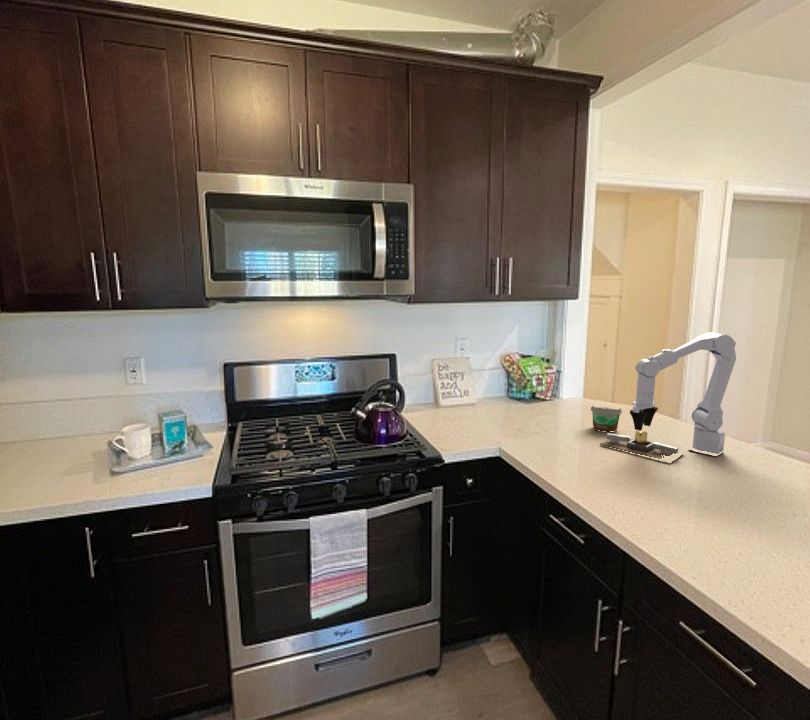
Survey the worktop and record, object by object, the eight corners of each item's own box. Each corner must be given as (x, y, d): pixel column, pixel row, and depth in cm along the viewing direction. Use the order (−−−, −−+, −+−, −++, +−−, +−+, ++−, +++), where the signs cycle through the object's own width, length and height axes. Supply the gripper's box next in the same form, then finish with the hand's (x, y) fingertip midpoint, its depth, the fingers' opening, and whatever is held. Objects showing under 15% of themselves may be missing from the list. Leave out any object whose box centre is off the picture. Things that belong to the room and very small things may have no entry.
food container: (587, 430, 199) (589, 408, 197) (589, 426, 204) (590, 404, 203) (619, 435, 193) (621, 411, 192) (620, 430, 199) (622, 408, 197)
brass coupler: (648, 447, 176) (649, 432, 175) (643, 450, 174) (644, 434, 173) (637, 444, 179) (638, 429, 178) (632, 447, 177) (633, 431, 176)
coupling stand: (683, 455, 171) (684, 444, 170) (669, 464, 163) (670, 453, 162) (615, 438, 190) (616, 428, 189) (600, 445, 181) (600, 435, 181)
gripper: (642, 387, 180) (639, 421, 182) (625, 393, 171) (622, 429, 173) (662, 390, 175) (659, 425, 177) (645, 396, 166) (642, 433, 168)
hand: (642, 427), depth 175 cm, fingers open, 7 cm apart
